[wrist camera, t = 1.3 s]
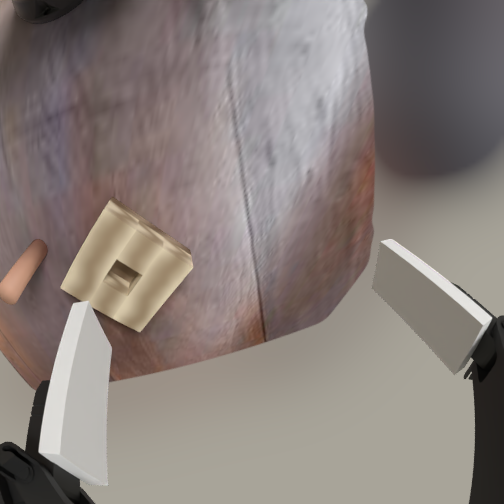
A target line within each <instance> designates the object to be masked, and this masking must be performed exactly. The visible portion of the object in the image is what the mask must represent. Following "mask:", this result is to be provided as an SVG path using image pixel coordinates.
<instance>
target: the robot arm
mask: <svg viewBox="0 0 504 504" xmlns="http://www.w3.org/2000/svg"><path fill="white" fill-rule="evenodd" d="M82 1H83V0H12V2H13V5H14V8H15V11H16V13H17V14H18V15H19V17H21V18H22V19H24V20H25V21H27V22H30V23H36V24H38V23H45V22H49V21H52V20H55V19H57V18H59V17H61V16H63V15H65V14H66V13H68V12H69V11H71V10H72V9H74V8H75V7H76V6H77V5H79V4H80V3H81V2H82ZM372 289H373V290H374V291H375V292H376V293H377V294H378V295H379V296H380V297H381V298H383V300H384V301H385V302H386V303H387V304H388V305H389V306H390V307H391V308H392V309H393V310H394V311H395V312H396V313H397V314H398V315H399V316H400V317H401V318H402V319H403V320H404V321H405V322H406V323H407V324H408V325H409V326H410V327H411V328H412V329H413V330H414V332H416V334H418V336H419V337H420V338H421V339H422V340H423V341H424V342H425V343H426V344H427V345H428V346H429V348H430V349H432V351H433V352H434V353H435V354H436V355H437V356H438V357H439V358H440V360H441V361H442V362H443V363H444V364H445V365H446V366H447V367H448V368H449V370H450V371H451V372H452V373H453V374H454V375H455V374H456V373H457V372H459V371H460V370H461V369H462V368H464V367H465V365H466V364H467V362H468V361H469V359H470V358H472V359H473V360H474V361H473V362H472V364H471V365H470V367H469V369H468V370H467V371H466V373H465V375H464V379H466V378H467V377H468V375H469V374H470V372H471V371H472V374H471V375H470V377H469V379H471V380H473V390H474V405H475V453H474V468H473V478H472V487H471V494H470V500H469V504H504V316H499V317H498V318H496V317H495V316H494V315H492V314H491V313H490V312H489V311H488V310H487V309H486V308H484V307H483V306H482V305H481V304H480V303H479V302H477V301H476V300H475V299H473V298H472V297H471V296H470V295H469V294H467V293H466V292H465V291H464V290H463V289H461V288H460V287H459V286H458V285H456V284H454V283H452V282H449V281H448V280H447V279H446V278H444V277H443V276H442V275H440V274H439V273H438V272H437V271H435V270H434V269H433V268H431V267H430V266H429V265H427V264H426V263H425V262H423V261H422V260H420V259H419V258H418V257H417V256H415V255H414V254H412V253H411V252H410V251H408V250H407V249H405V248H404V247H403V246H401V245H400V244H398V243H397V242H395V241H394V240H393V239H388V240H384V241H380V247H379V252H378V258H377V264H376V270H375V275H374V280H373V285H372ZM111 352H112V347H111V345H110V343H109V341H108V339H107V337H106V335H105V334H104V332H103V330H102V328H101V326H100V324H99V321H98V319H97V317H96V315H95V313H94V311H93V309H92V307H91V304H90V302H89V301H83V302H78V303H73V305H72V308H71V311H70V314H69V317H68V320H67V323H66V326H65V329H64V332H63V336H62V339H61V342H60V346H59V349H58V353H57V356H56V360H55V364H54V368H53V372H52V376H51V380H46V381H42V382H41V384H40V386H39V387H38V389H37V391H36V393H35V397H34V402H33V405H34V406H33V407H32V412H31V415H32V416H31V417H30V423H29V428H28V435H27V441H26V449H25V451H24V450H23V449H21V448H20V447H19V446H17V445H16V444H14V443H12V442H4V443H2V444H0V504H95V503H94V502H93V501H92V499H91V498H90V497H89V496H88V495H87V493H86V492H85V491H84V490H83V489H82V488H81V487H80V480H81V481H83V482H85V483H86V484H88V485H102V486H108V477H107V438H106V437H107V400H108V385H109V372H110V362H111Z"/></svg>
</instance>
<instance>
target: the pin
mask: <svg viewBox="0 0 504 504" xmlns="http://www.w3.org/2000/svg"><path fill="white" fill-rule="evenodd" d="M47 251H48V250H47V246H46V244H45V243H44V242H43V241H42V240H40V239H36V240H34V241H33V242H32V243H31V244H30V245H29V247H28V248H27V249H26V250H25V252H24V253H23V254H22V255H21V257H20V258H19V259H18V260H17V262H16V263H15V264H14V266H13V267H12V268H11V270H10V271H9V272H8V274H7V275H6V276H5V278H4V279H3V280H2V282H1V283H0V297H1V299H2V300H3V301H4V302H6V303H7V304H10V305H13V304H15V303H16V302H17V301H18V299H19V297H20V295H21V294H22V292H23V290H24V289H25V287H26V285H27V284H28V282H29V280H30V279H31V277H32V276H33V274H34V273H35V271H36V269H37V268H38V266H39V265H40V263H41V262H42V260H43V259H44V257H45V256H46V254H47Z"/></svg>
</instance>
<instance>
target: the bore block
mask: <svg viewBox="0 0 504 504" xmlns="http://www.w3.org/2000/svg"><path fill="white" fill-rule="evenodd" d="M192 269H193V263H192V258H191V252H190V250H189V249H188V248H186V247H185V246H183V245H182V244H181V243H179V242H178V241H176V240H175V239H173V238H172V237H170V236H169V235H167V234H166V233H164V232H163V231H161V230H160V229H158V228H157V227H155V226H154V225H153V224H151V223H150V222H148V221H147V220H145V219H144V218H142V217H141V216H139V215H138V214H137V213H135V212H134V211H132V210H131V209H129V208H128V207H127V206H125V205H124V204H122V203H121V202H120V201H118V200H117V199H115V198H114V197H112V198H111V199H110V201H109V202H108V204H107V205H106V207H105V208H104V210H103V212H102V213H101V215H100V216H99V218H98V219H97V221H96V223H95V224H94V226H93V228H92V229H91V231H90V233H89V234H88V236H87V238H86V240H85V241H84V243H83V245H82V247H81V248H80V250H79V252H78V254H77V256H76V258H75V259H74V261H73V263H72V265H71V267H70V269H69V271H68V273H67V275H66V277H65V279H64V281H63V283H62V285H61V287H60V288H61V289H63V290H64V291H66V292H67V293H69V294H71V295H72V296H74V297H76V298H77V299H79V300H81V301H82V302H83V301H89V302H90V304H91V307H93V308H94V309H96V310H98V311H100V312H102V313H103V314H105V315H107V316H109V317H111V318H113V319H114V320H116V321H118V322H120V323H122V324H124V325H126V326H128V327H130V328H132V329H134V330H136V331H138V332H141V331H142V329H143V328H144V327H145V326H146V324H147V323H148V322H149V321H150V319H151V318H152V317H153V316H154V314H155V313H156V312H157V311H158V310H159V308H160V307H161V306H162V305H163V303H164V302H165V301H166V300H167V299H168V297H169V296H170V295H171V294H172V293H173V291H174V290H175V289H176V288H177V286H178V285H179V284H180V283H181V282H182V281H183V279H184V278H185V277H186V276H187V275H188V273H189V272H190V271H191V270H192Z"/></svg>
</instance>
